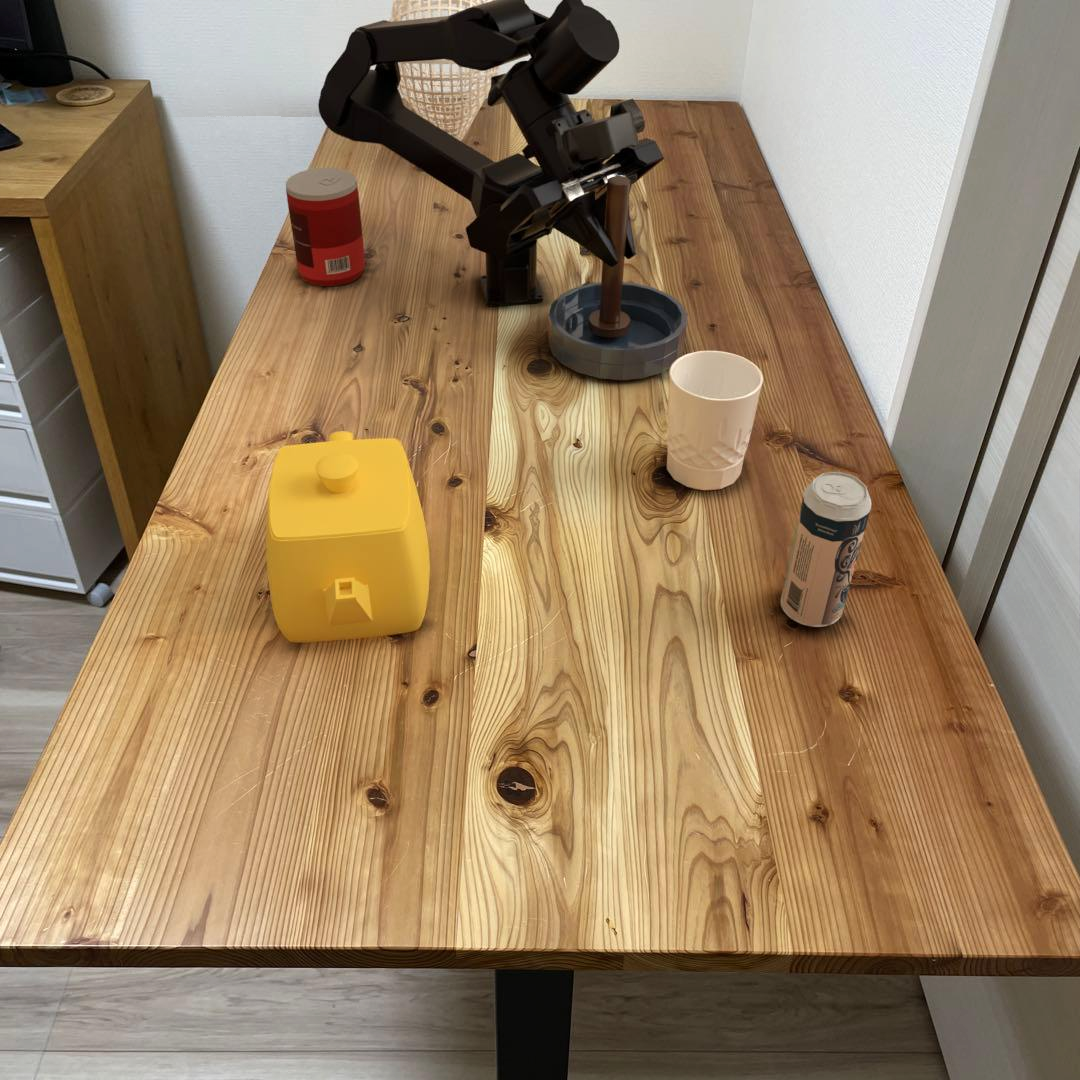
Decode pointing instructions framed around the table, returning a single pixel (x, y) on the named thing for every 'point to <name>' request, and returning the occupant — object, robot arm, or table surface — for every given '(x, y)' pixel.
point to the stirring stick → (610, 315)
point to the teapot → (345, 541)
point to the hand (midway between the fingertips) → (623, 261)
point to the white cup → (710, 417)
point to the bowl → (626, 356)
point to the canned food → (326, 226)
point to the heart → (404, 9)
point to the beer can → (825, 548)
